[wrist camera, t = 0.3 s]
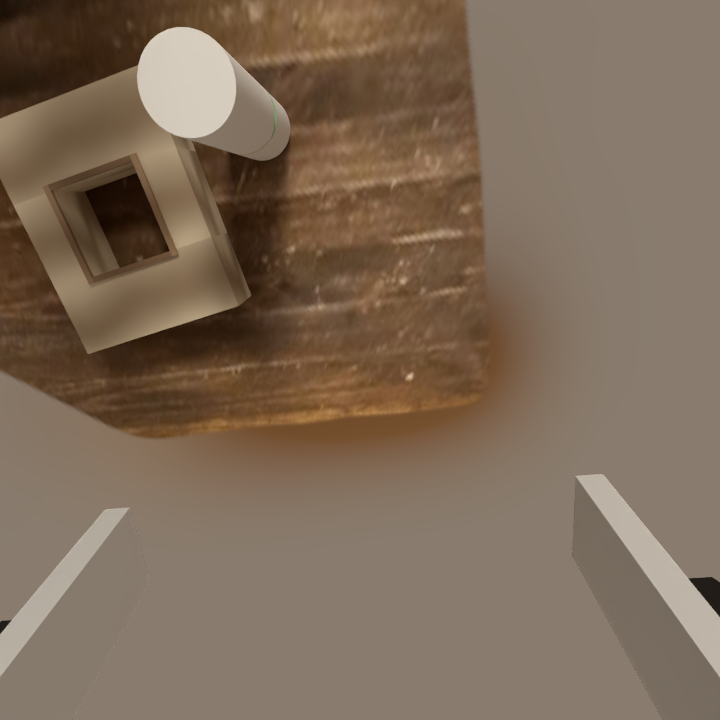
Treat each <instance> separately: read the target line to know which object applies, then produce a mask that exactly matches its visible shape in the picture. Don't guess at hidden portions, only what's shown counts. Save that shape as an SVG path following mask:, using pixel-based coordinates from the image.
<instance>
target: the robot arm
mask: <svg viewBox="0 0 720 720" xmlns="http://www.w3.org/2000/svg"><path fill="white" fill-rule="evenodd" d="M575 479H576V480H575V501H574V525H573V548H572V551H573V552H572V556H573V558H574V560H575V562H576V563H577V565H578V567H579V569H580V571H581V572H582V574H583V576H584V578H585V580H586V582H587V583H588V585H589V587H590V589H591V590H592V592H593V594H594V596H595V598H596V600H597V602H598V603H599V605H600V607H601V609H602V611H603V612H604V614H605V616H606V618H607V620H608V622H609V623H610V625H611V627H612V629H613V631H614V632H615V634H616V636H617V638H618V640H619V641H620V643H621V645H622V647H623V648H624V650H625V652H626V654H627V656H628V658H629V660H630V662H631V663H632V665H633V667H634V669H635V671H636V672H637V674H638V676H639V678H640V679H641V682H642V683H643V685H644V687H645V689H646V691H647V692H648V694H649V696H650V698H651V700H652V701H653V703H654V705H655V707H656V709H657V710H658V712H659V714H660V716H661V718H662V720H720V582H718V581H717V580H715V579H714V578H712V577H706V578H691V579H690V578H689V579H688V578H687V577H686V575H685V574H684V573H683V572H682V570H681V569H680V568H679V567H678V566H677V564H676V563H675V562H674V561H673V560H672V558H671V557H670V556H669V555H668V553H667V552H666V551H665V550H664V548H663V547H662V546H661V545H660V544H659V542H658V541H657V540H656V539H655V537H654V536H653V535H652V534H651V533H650V531H649V530H648V529H647V528H646V526H645V525H644V524H643V523H642V521H641V520H640V519H639V518H638V517H637V515H636V514H635V513H634V512H633V510H632V509H631V508H630V507H629V506H628V504H627V503H626V502H625V501H624V500H623V498H622V497H621V496H620V495H619V493H618V492H617V491H616V490H615V488H614V487H613V486H612V485H611V484H610V482H609V481H608V480H607V479H606V478H605V476H604V475H603V474H598V475H584V476H576V478H575ZM149 584H150V579H149V575H148V571H147V568H146V564H145V561H144V557H143V553H142V550H141V546H140V542H139V539H138V535H137V532H136V528H135V524H134V521H133V518H132V514H131V510H130V508H115V509H105V510H104V511H103V512H102V514H101V515H100V516H99V517H98V518H97V519H96V521H95V522H94V523H93V525H91V527H90V528H89V529H88V530H87V531H86V533H85V534H84V535H83V536H82V537H81V538H80V540H79V541H78V542H77V543H76V544H75V546H74V547H73V548H72V549H71V551H70V552H69V553H68V554H67V555H66V556H65V558H64V559H63V560H62V561H61V562H60V564H59V565H58V566H57V567H56V568H55V570H54V571H53V572H52V573H51V574H50V576H49V577H48V578H47V579H46V580H45V582H44V583H43V584H42V585H41V586H40V587H39V589H38V590H37V591H36V592H35V593H34V595H33V596H32V597H31V598H30V599H29V600H28V602H27V603H26V604H25V605H24V606H23V608H22V609H21V610H20V611H19V613H18V614H17V615H16V616H15V617H14V618H13V620H10V621H1V622H0V720H73V718H74V716H75V714H76V712H77V711H78V709H79V707H80V705H81V704H82V702H83V700H84V698H85V697H86V695H87V693H88V691H89V689H90V688H91V686H92V684H93V682H94V681H95V679H96V677H97V675H98V673H99V672H100V670H101V668H102V667H103V665H104V663H105V661H106V659H107V658H108V656H109V654H110V652H111V651H112V649H113V647H114V645H115V644H116V642H117V640H118V638H119V637H120V635H121V633H122V631H123V629H124V628H125V626H126V624H127V622H128V621H129V619H130V617H131V615H132V614H133V612H134V610H135V608H136V607H137V605H138V603H139V601H140V600H141V598H142V596H143V594H144V592H145V591H146V589H147V587H148V585H149Z"/></svg>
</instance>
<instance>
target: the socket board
mask: <svg viewBox="0 0 720 720" xmlns="http://www.w3.org/2000/svg"><path fill="white" fill-rule="evenodd" d="M137 72H138V65H137V66H135V67H132V68H130V69H127V70H124V71H122V72H119V73H117V74H114V75H111V76H109V77H106V78H104V79H101V80H99V81H96V82H93V83H91V84H88V85H86V86H83V87H80V88H78V89H75V90H73V91H70V92H68V93H65V94H62V95H60V96H57V97H55V98H52V99H49V100H47V101H44V102H42V103H39V104H37V105H34V106H31V107H29V108H26V109H24V110H21V111H18V112H16V113H13V114H11V115H8V116H6V117H3V118H0V179H1V181H2V183H3V185H4V187H5V189H6V191H7V193H8V195H9V197H10V199H11V201H12V203H13V205H14V207H15V209H16V211H17V213H18V215H19V217H20V219H21V221H22V223H23V225H24V227H25V229H26V231H27V233H28V235H29V237H30V239H31V241H32V243H33V245H34V247H35V249H36V251H37V253H38V255H39V257H40V259H41V261H42V263H43V265H44V267H45V269H46V271H47V273H48V275H49V277H50V279H51V281H52V283H53V285H54V287H55V289H56V291H57V293H58V295H59V297H60V299H61V301H62V303H63V305H64V307H65V309H66V311H67V313H68V315H69V317H70V319H71V321H72V323H73V325H74V327H75V329H76V331H77V333H78V335H79V337H80V339H81V341H82V343H83V345H84V347H85V349H86V351H87V353H88V354H90V353H93V352H96V351H99V350H102V349H105V348H109V347H112V346H115V345H118V344H121V343H124V342H127V341H131V340H134V339H137V338H140V337H143V336H146V335H149V334H153V333H156V332H159V331H162V330H165V329H168V328H171V327H174V326H178V325H181V324H184V323H187V322H190V321H193V320H196V319H200V318H203V317H206V316H209V315H212V314H215V313H218V312H222V311H225V310H228V309H231V308H234V307H237V306H239V305H241V304H242V303H243V302H244V301H245V300H247V299H248V298H249V297H250V296H251V293H250V290H249V288H248V285H247V283H246V280H245V278H244V275H243V272H242V270H241V267H240V265H239V262H238V259H237V257H236V254H235V252H234V249H233V246H232V244H231V241H230V239H229V236H228V233H227V231H226V228H225V226H224V223H223V221H222V218H221V215H220V213H219V210H218V208H217V205H216V202H215V200H214V197H213V195H212V192H211V189H210V187H209V184H208V182H207V179H206V176H205V174H204V171H203V169H202V166H201V164H200V161H199V158H198V156H197V153H196V151H195V148H194V145H193V143H192V140H189V139H186V138H183V137H179V136H176V135H174V134H172V133H170V132H168V131H166V130H165V129H163V128H162V127H160V126H159V125H158V124H157V123H156V122H155V121H154V120H153V119H152V118H151V116H150V115H149V113H148V112H147V110H146V109H145V107H144V105H143V102H142V100H141V97H140V94H139V90H138V82H137ZM135 173H137V175H138V177H139V179H140V182H141V184H142V186H143V189H144V191H145V193H146V196H147V198H148V201H149V203H150V205H151V208H152V210H153V212H154V215H155V217H156V219H157V222H158V224H159V227H160V229H161V231H162V234H163V236H164V238H165V241H166V243H167V245H168V248H169V250H170V251H168V252H165V253H162V254H160V255H157V256H154V257H151V258H148V259H145V260H142V261H139V262H136V263H133V264H130V265H127V266H124V267H121V268H120V267H119V265H118V263H117V261H116V258H115V256H114V254H113V252H112V250H111V247H110V245H109V243H108V241H107V239H106V236H105V234H104V232H103V230H102V228H101V226H100V223H99V221H98V219H97V217H96V215H95V212H94V210H93V208H92V206H91V204H90V201H89V199H88V197H87V195H86V193H85V191H88V190H91V189H94V188H96V187H99V186H102V185H105V184H107V183H110V182H113V181H116V180H119V179H121V178H124V177H127V176H130V175H132V174H135Z"/></svg>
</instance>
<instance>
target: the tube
mask: <svg viewBox="0 0 720 720" xmlns="http://www.w3.org/2000/svg"><path fill="white" fill-rule="evenodd" d="M137 82H138V90H139V94H140V97H141V100H142V102H143V105H144V107H145V109H146V110H147V112H148V113H149V115H150V116H151V118H152V119H153V120H154V121H155V122H156V123H157V124H158V125H159V126H160V127H162V128H163V129H165V130H166V131H168V132H170V133H172V134H174V135H176V136H179V137H183V138H186V139H189V140H192V141H196V142H199V143H202V144H205V145H208V146H212V147H215V148H218V149H221V150H225V151H228V152H231V153H234V154H238V155H241V156H244V157H247V158H251V159H254V160H259V161H265V160H270V159H272V158H275V157H276V156H278V155H279V154H280V153H281V152H282V151H283V150H284V149H285V147H286V146H287V143H288V141H289V137H290V123H289V119H288V116H287V113H286V112H285V110H284V109H283V107H282V106H281V105H280V104H279V103H278V102H277V101H276V100H275V99H274V98H273V97H272V96H271V95H270V94H269V93H268V92H267V91H266V90H265V89H264V88H263V87H262V86H261V85H260V84H259V83H258V82H257V81H256V80H255V79H254V78H253V77H252V76H251V75H250V74H249V73H248V72H247V71H246V70H245V69H244V68H243V67H242V66H241V65H240V64H239V63H238V62H237V61H236V60H235V59H234V58H233V57H232V56H231V55H230V54H229V53H228V52H227V51H226V50H224V49H223V48H222V47H221V46H220V45H219V44H218V43H217V42H216V41H215V40H214V39H213V38H211V37H210V36H209V35H207V34H205V33H203V32H201V31H199V30H196V29H193V28H189V27H176V28H171V29H167V30H165V31H163V32H161V33H159V34H158V35H156V36H155V37H154V38H153V39H152V40H151V41H150V42H149V43H148V44H147V46H146V47H145V49H144V51H143V53H142V55H141V57H140V61H139V64H138V72H137Z"/></svg>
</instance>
